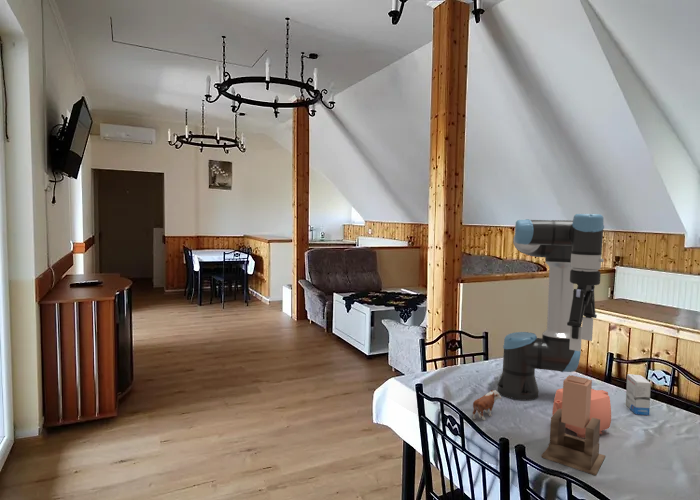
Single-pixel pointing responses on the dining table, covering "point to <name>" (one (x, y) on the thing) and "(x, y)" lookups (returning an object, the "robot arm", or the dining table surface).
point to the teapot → (598, 410)
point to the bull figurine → (485, 403)
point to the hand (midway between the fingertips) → (581, 344)
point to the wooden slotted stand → (575, 446)
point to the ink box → (638, 394)
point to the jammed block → (576, 401)
